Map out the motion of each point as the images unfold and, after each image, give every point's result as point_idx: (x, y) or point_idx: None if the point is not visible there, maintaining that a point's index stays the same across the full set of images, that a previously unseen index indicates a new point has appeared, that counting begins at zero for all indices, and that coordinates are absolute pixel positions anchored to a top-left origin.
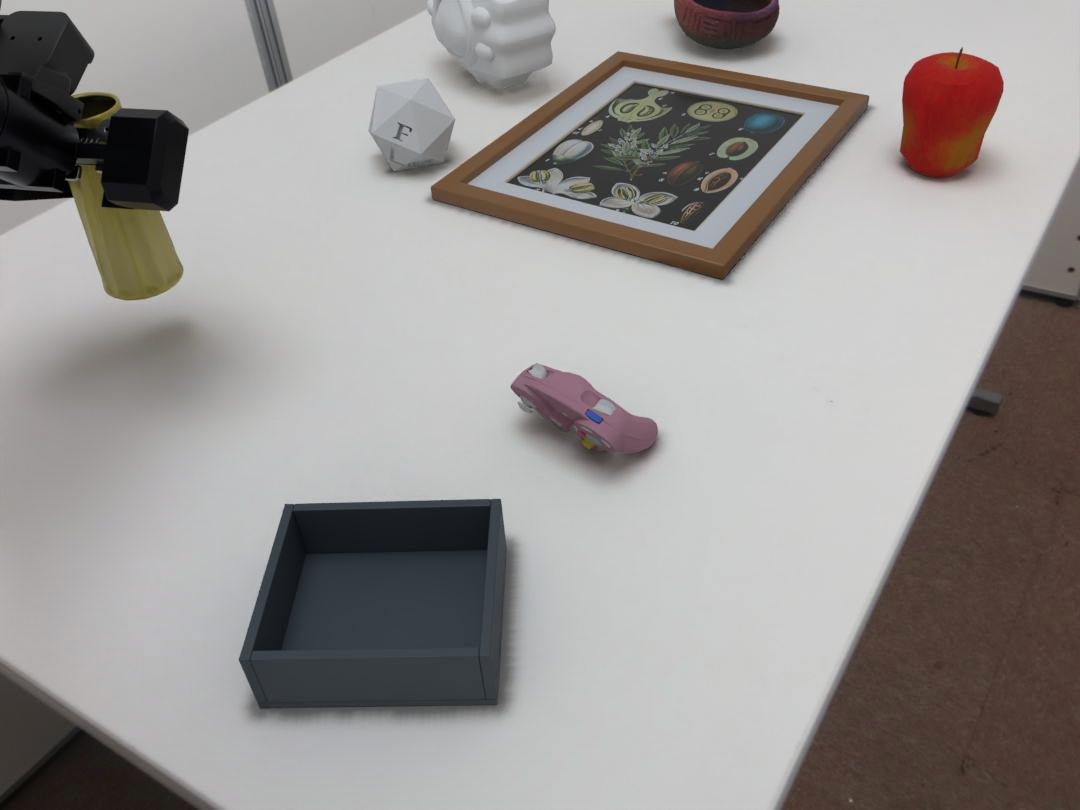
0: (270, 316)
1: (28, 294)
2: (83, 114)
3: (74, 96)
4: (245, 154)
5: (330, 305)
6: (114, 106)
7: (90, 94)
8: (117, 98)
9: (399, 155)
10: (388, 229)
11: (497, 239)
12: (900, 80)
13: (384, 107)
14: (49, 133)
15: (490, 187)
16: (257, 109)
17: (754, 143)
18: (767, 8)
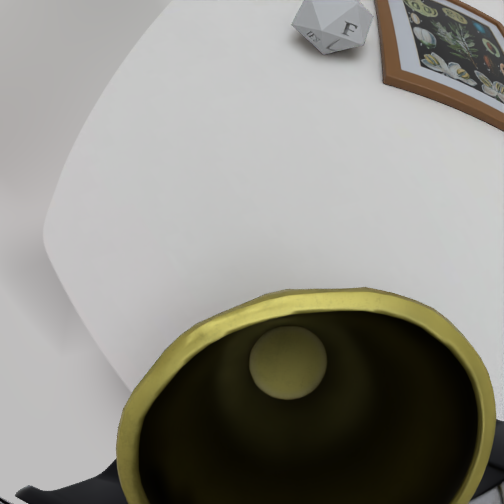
0: (368, 282)
1: (95, 312)
2: (205, 358)
3: (166, 376)
4: (172, 64)
5: (411, 248)
6: (492, 418)
7: (244, 326)
8: (466, 343)
9: (339, 45)
10: (381, 124)
11: (462, 130)
12: (490, 11)
13: (327, 8)
14: None
15: (418, 72)
16: (153, 28)
17: (492, 44)
18: None
